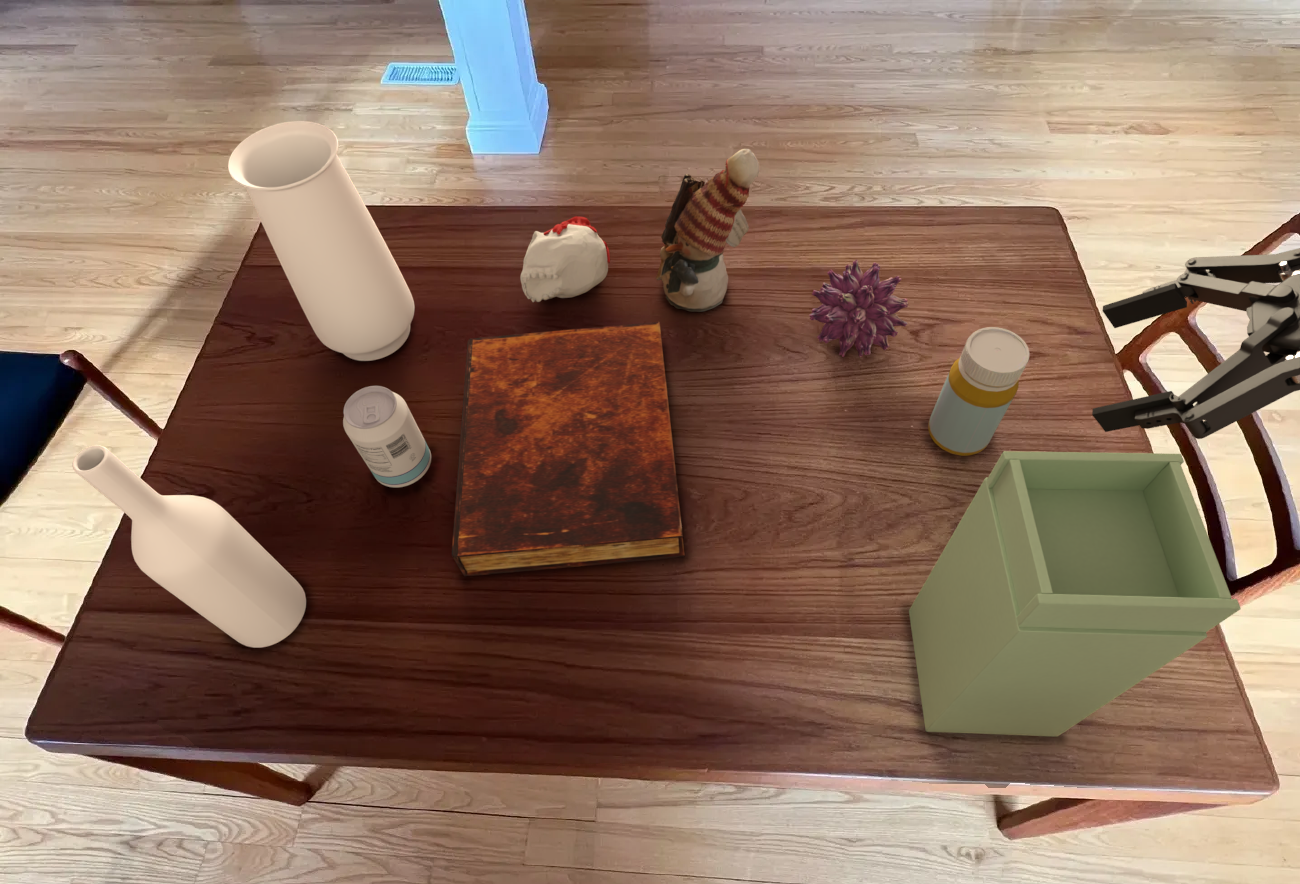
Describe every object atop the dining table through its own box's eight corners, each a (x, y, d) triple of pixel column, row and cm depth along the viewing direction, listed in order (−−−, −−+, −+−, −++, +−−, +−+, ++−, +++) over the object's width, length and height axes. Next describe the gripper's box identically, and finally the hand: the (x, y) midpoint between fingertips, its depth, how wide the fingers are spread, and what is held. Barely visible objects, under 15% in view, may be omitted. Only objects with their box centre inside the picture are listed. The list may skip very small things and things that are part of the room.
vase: (430, 296, 109) (357, 113, 86) (412, 370, 102) (328, 191, 79) (338, 298, 110) (241, 117, 87) (314, 371, 103) (201, 195, 79)
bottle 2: (934, 460, 90) (972, 378, 78) (920, 411, 94) (954, 325, 82) (996, 456, 90) (1043, 374, 78) (979, 407, 94) (1022, 321, 82)
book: (476, 364, 102) (466, 338, 98) (662, 348, 102) (660, 321, 98) (462, 576, 85) (450, 556, 81) (684, 557, 85) (683, 535, 81)
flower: (791, 340, 103) (857, 284, 105) (859, 393, 97) (928, 333, 99) (783, 284, 94) (856, 223, 95) (858, 339, 88) (934, 274, 89)
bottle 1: (238, 580, 86) (53, 420, 61) (312, 572, 86) (157, 409, 61) (222, 652, 82) (15, 511, 57) (301, 644, 82) (128, 499, 57)
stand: (1029, 613, 80) (1180, 449, 55) (1058, 736, 73) (1243, 613, 48) (908, 610, 81) (1002, 447, 56) (925, 731, 74) (1040, 608, 49)
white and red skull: (525, 317, 105) (540, 250, 115) (609, 316, 104) (617, 249, 114) (512, 261, 98) (530, 195, 108) (602, 260, 98) (612, 193, 108)
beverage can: (432, 437, 96) (401, 375, 86) (435, 485, 92) (403, 425, 82) (374, 449, 95) (337, 387, 85) (375, 497, 91) (336, 439, 81)
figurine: (669, 245, 112) (665, 119, 96) (756, 258, 110) (767, 130, 94) (645, 313, 105) (636, 189, 89) (738, 328, 103) (746, 204, 86)
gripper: (1432, 447, 56) (1113, 492, 72) (1392, 220, 69) (1128, 302, 85) (1400, 381, 53) (1074, 444, 69) (1364, 157, 65) (1095, 254, 82)
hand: (1103, 366), depth 77 cm, fingers open, 13 cm apart
